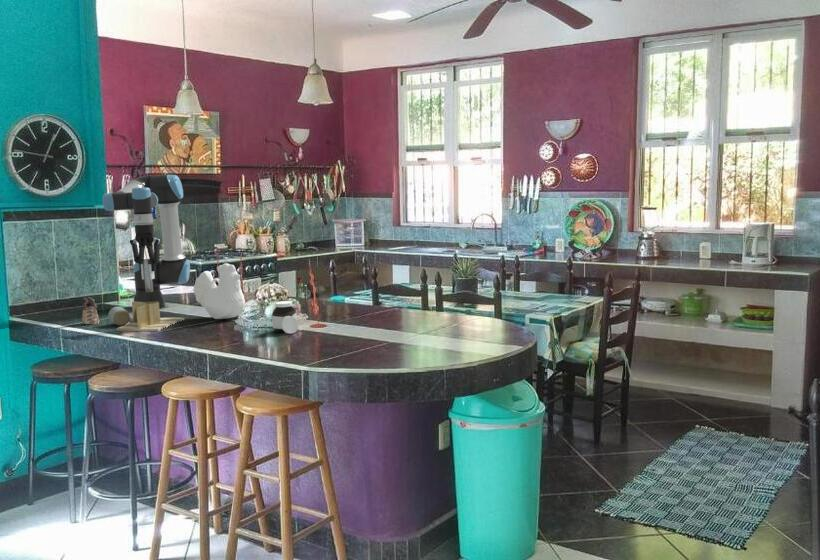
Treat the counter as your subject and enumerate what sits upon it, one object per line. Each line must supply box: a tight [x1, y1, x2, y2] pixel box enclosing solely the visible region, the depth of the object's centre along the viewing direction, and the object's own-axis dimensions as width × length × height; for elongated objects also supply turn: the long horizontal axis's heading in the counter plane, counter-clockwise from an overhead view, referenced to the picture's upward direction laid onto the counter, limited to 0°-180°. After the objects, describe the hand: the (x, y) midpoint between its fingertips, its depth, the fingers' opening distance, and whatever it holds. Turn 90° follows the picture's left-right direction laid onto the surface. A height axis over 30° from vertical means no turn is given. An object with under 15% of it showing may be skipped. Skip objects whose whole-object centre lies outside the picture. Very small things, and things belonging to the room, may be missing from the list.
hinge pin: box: [143, 258, 153, 292], centre depth 332 cm, size 3×3×14 cm
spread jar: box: [271, 300, 299, 335], centre depth 312 cm, size 12×11×12 cm
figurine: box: [81, 296, 101, 326], centre depth 345 cm, size 7×7×12 cm
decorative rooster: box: [192, 263, 246, 320], centre depth 347 cm, size 25×16×25 cm, turn 55°
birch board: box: [115, 317, 185, 332], centre depth 336 cm, size 24×19×1 cm
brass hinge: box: [131, 300, 161, 329], centre depth 332 cm, size 15×14×9 cm
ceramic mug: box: [107, 306, 134, 327], centre depth 341 cm, size 11×8×8 cm
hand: (148, 278), depth 332 cm, fingers closed on hinge pin, 3 cm apart
